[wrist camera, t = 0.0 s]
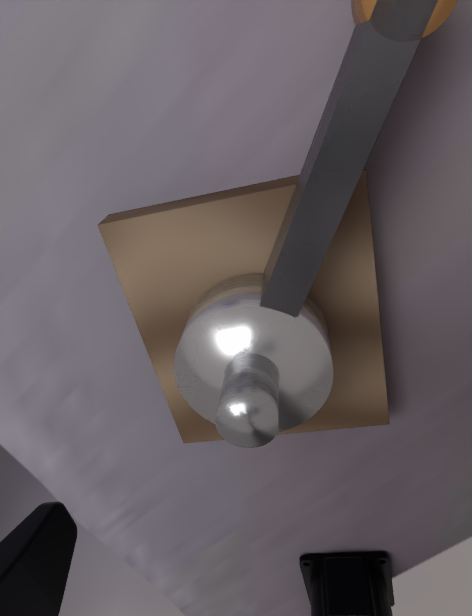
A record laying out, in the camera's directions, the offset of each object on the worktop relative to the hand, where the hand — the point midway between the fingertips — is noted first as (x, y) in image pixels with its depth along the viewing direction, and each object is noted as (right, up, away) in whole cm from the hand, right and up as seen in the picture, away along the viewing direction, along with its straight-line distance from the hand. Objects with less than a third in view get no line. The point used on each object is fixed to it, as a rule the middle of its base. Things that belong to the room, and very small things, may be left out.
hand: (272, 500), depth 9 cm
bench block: (0, +3, +15) cm, 15 cm away
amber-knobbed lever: (+2, +7, +10) cm, 13 cm away
